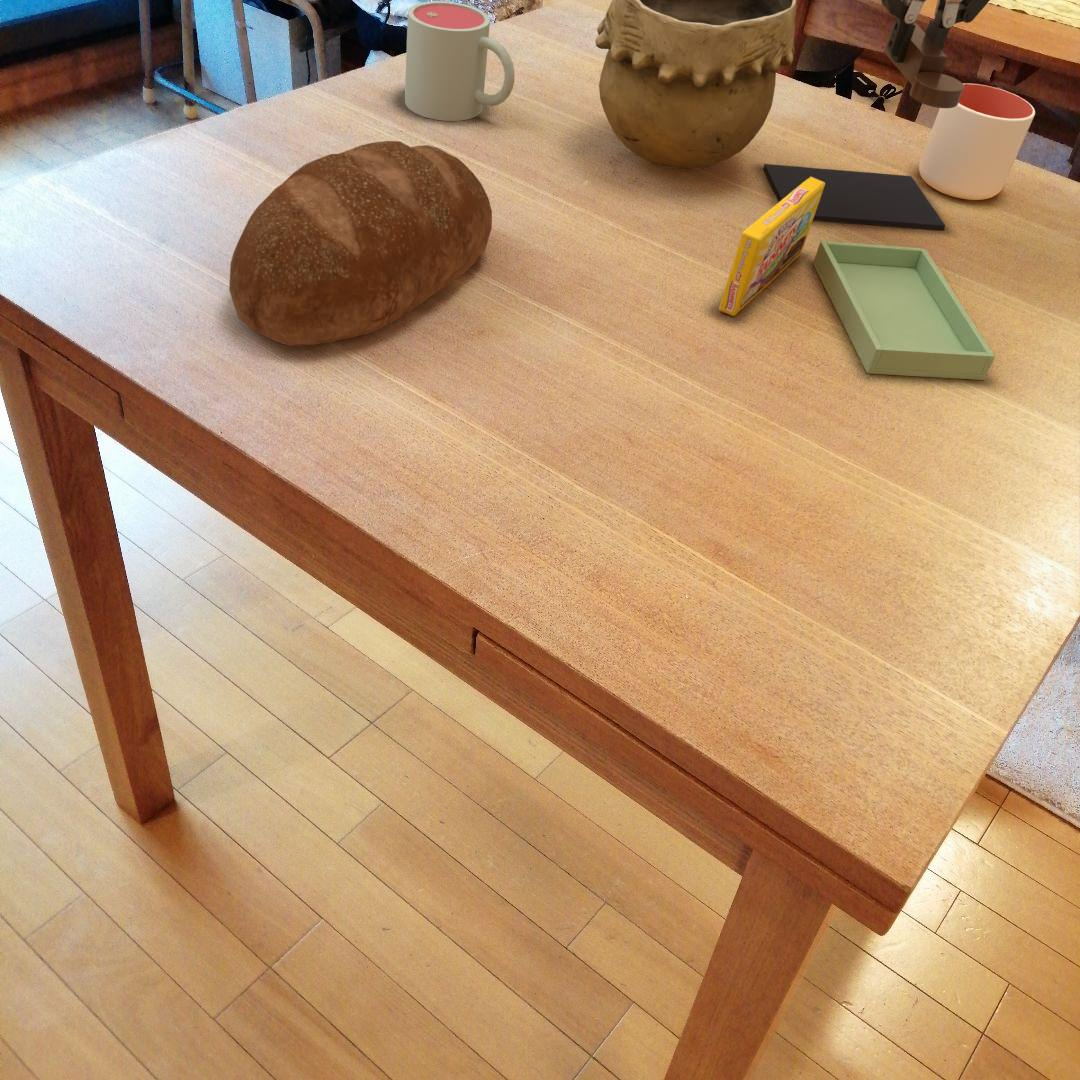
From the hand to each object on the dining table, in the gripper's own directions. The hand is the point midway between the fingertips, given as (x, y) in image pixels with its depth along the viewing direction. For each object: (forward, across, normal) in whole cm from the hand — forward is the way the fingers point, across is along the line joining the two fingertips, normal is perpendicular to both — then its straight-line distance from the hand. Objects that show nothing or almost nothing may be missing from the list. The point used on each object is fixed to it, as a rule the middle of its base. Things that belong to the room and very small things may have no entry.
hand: (910, 60), depth 108 cm
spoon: (+1, 0, -3) cm, 3 cm away
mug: (+17, -43, +20) cm, 51 cm away
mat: (+17, +1, +5) cm, 18 cm away
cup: (+17, +16, +10) cm, 26 cm away
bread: (+17, -52, -19) cm, 58 cm away
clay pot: (+17, -19, +11) cm, 28 cm away
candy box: (+17, -14, -15) cm, 27 cm away
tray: (+17, -2, -20) cm, 27 cm away
